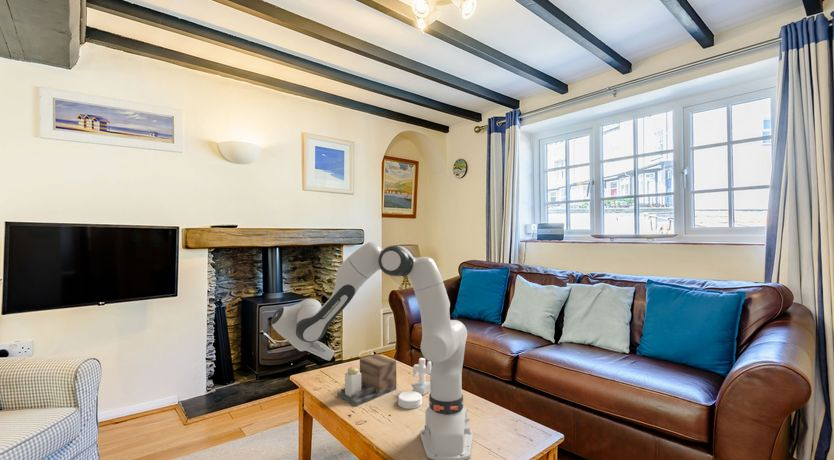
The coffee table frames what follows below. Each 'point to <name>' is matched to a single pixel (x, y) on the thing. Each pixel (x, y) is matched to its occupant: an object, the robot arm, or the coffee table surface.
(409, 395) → the coaster
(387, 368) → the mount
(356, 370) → the knob
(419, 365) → the figurine
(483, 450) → the coffee table surface
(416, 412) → the coffee table surface
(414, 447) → the coffee table surface
